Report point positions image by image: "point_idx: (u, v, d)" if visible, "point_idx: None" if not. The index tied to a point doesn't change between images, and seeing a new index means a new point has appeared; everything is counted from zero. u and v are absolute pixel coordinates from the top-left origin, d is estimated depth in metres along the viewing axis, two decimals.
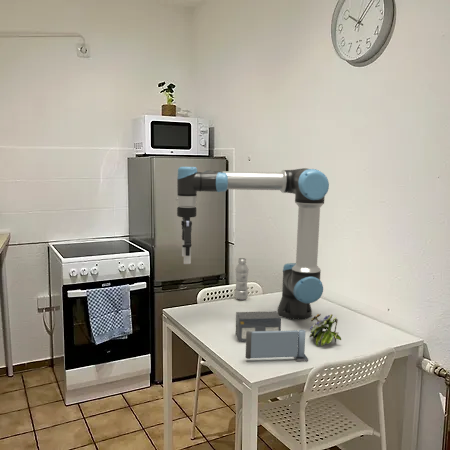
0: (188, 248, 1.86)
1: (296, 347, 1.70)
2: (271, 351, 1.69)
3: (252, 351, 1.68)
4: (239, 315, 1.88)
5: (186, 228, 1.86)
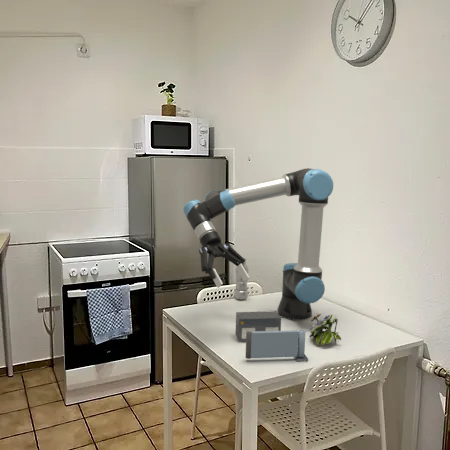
0: (209, 271, 1.75)
1: (296, 347, 1.70)
2: (271, 351, 1.69)
3: (252, 351, 1.68)
4: (239, 315, 1.88)
5: (201, 255, 1.80)
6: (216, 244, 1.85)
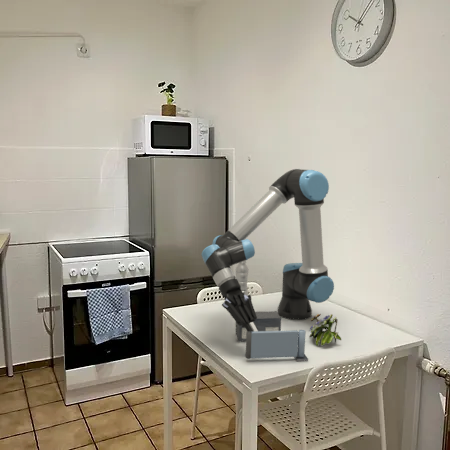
0: (246, 325, 1.71)
1: (296, 347, 1.70)
2: (271, 351, 1.69)
3: (252, 351, 1.68)
4: None
5: (228, 309, 1.73)
6: (236, 292, 1.78)
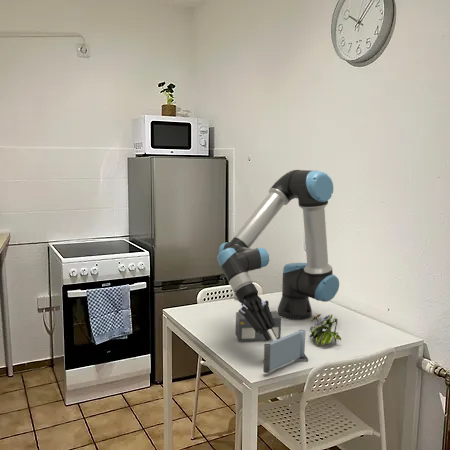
0: (264, 332, 1.65)
1: (299, 348, 1.69)
2: (283, 359, 1.63)
3: (270, 363, 1.58)
4: (239, 315, 1.88)
5: (245, 316, 1.66)
6: (253, 298, 1.71)
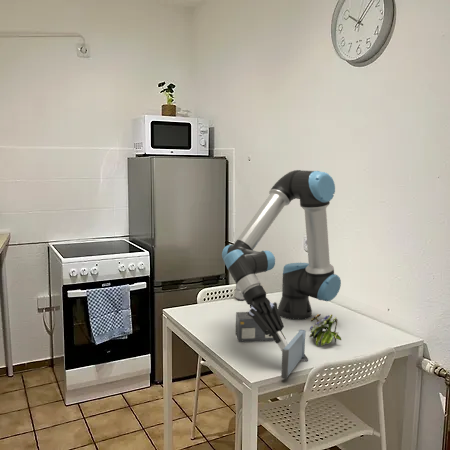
0: (273, 334, 1.63)
1: (301, 348, 1.69)
2: (294, 361, 1.61)
3: (288, 368, 1.55)
4: (239, 315, 1.88)
5: (254, 318, 1.64)
6: (261, 300, 1.69)
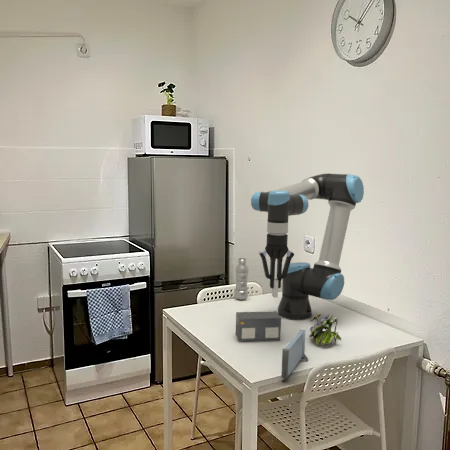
0: (270, 280, 1.80)
1: (301, 348, 1.69)
2: (294, 361, 1.61)
3: (288, 368, 1.55)
4: (239, 315, 1.88)
5: (262, 259, 1.79)
6: (279, 247, 1.78)
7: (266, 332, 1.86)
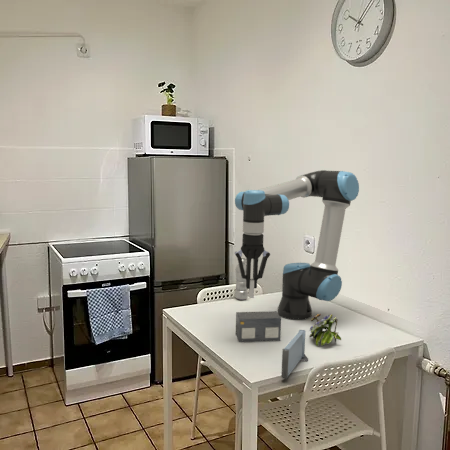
0: (246, 280, 1.79)
1: (301, 348, 1.69)
2: (294, 361, 1.61)
3: (288, 368, 1.55)
4: (239, 315, 1.88)
5: None
6: (255, 247, 1.76)
7: (266, 332, 1.86)
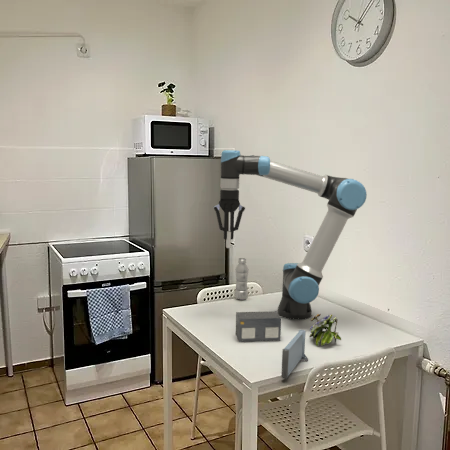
0: (224, 232, 1.98)
1: (301, 348, 1.69)
2: (294, 361, 1.61)
3: (288, 368, 1.55)
4: (239, 315, 1.88)
5: (216, 213, 1.98)
6: (231, 201, 1.96)
7: (266, 332, 1.86)
